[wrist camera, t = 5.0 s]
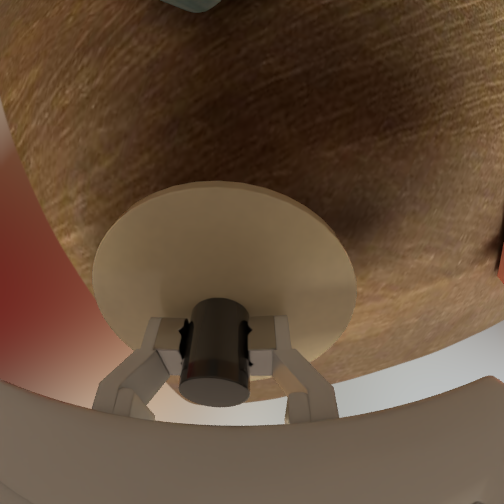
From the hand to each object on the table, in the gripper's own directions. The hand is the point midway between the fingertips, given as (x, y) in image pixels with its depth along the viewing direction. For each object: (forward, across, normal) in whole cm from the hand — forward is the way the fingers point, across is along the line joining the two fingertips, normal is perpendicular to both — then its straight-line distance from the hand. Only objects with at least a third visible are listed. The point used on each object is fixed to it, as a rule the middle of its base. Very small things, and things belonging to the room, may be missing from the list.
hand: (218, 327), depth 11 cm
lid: (+1, 0, 0) cm, 1 cm away
